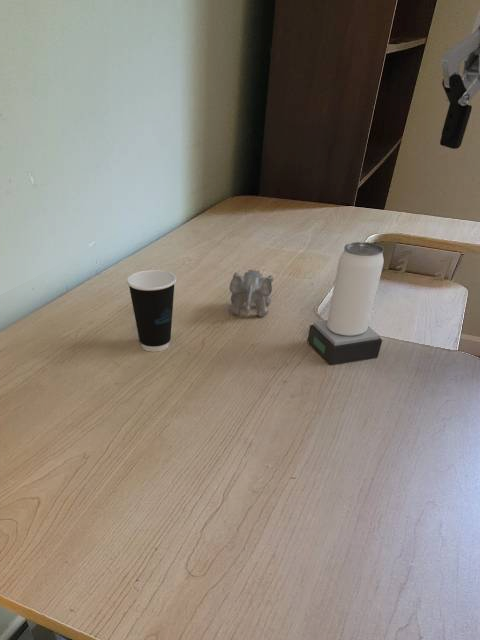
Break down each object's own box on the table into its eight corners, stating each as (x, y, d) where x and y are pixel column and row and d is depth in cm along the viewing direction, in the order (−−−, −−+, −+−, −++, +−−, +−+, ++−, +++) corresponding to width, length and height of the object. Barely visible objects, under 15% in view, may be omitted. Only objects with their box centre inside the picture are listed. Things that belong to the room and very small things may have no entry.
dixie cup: (138, 333, 93) (133, 268, 85) (181, 336, 92) (180, 270, 84) (127, 354, 88) (120, 286, 80) (172, 357, 86) (170, 289, 78)
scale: (352, 335, 90) (357, 314, 88) (377, 357, 85) (383, 336, 82) (306, 342, 89) (309, 321, 86) (329, 365, 83) (333, 344, 81)
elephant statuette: (266, 301, 101) (270, 259, 96) (284, 327, 93) (290, 283, 88) (220, 305, 101) (221, 263, 95) (234, 332, 92) (236, 287, 87)
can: (323, 334, 83) (338, 253, 74) (329, 318, 87) (344, 239, 78) (364, 339, 81) (385, 257, 73) (368, 322, 85) (388, 242, 77)
